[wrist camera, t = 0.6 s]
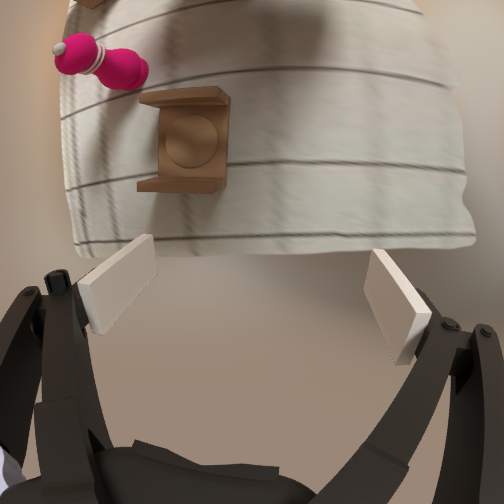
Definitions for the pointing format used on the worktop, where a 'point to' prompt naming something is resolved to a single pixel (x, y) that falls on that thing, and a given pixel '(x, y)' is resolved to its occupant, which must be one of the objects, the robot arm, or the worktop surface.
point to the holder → (190, 140)
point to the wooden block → (90, 3)
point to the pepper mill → (100, 62)
